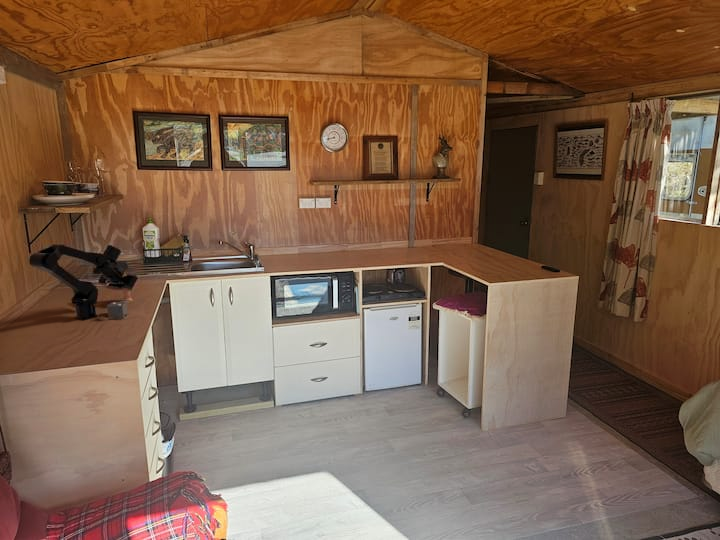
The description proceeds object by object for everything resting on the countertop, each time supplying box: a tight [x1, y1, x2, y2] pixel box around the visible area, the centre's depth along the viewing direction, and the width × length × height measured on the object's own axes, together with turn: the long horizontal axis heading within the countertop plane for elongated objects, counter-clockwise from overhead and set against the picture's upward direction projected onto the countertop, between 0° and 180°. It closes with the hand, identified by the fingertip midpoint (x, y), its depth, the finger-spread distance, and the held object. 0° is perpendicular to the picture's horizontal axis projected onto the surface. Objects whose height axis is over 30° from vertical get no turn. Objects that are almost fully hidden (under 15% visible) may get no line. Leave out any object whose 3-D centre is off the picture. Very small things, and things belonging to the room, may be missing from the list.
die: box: [106, 301, 128, 321], centre depth 219 cm, size 6×6×6 cm
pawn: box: [122, 288, 133, 302], centre depth 240 cm, size 4×4×11 cm
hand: (128, 289), depth 242 cm, fingers closed on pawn, 3 cm apart
